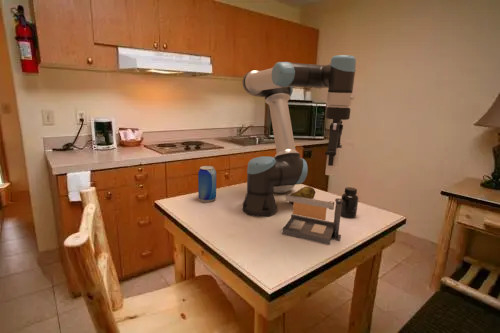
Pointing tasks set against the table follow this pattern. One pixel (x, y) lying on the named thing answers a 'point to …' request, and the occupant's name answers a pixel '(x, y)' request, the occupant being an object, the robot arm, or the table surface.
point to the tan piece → (310, 207)
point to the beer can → (207, 184)
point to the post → (337, 220)
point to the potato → (304, 193)
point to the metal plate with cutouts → (309, 229)
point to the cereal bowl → (283, 188)
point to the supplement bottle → (349, 203)
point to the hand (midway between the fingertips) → (331, 170)
